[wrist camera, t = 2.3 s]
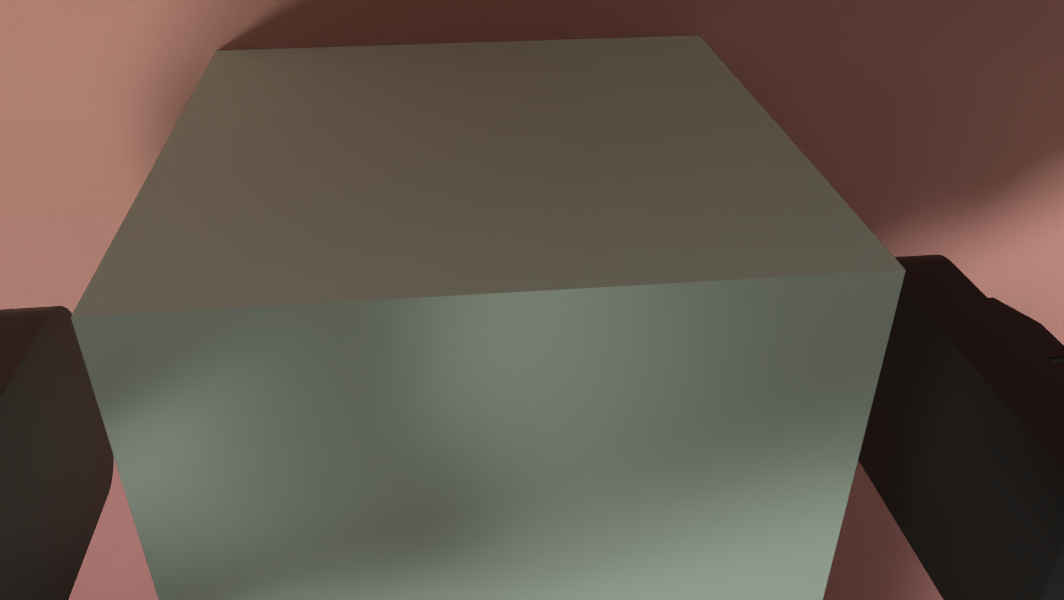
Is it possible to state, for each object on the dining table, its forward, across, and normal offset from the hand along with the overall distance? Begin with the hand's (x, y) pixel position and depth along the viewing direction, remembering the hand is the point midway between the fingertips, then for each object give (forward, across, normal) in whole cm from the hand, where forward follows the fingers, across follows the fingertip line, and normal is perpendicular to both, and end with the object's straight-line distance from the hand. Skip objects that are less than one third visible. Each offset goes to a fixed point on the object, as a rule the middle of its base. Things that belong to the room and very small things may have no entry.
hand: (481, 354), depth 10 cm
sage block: (+2, 0, 0) cm, 2 cm away
